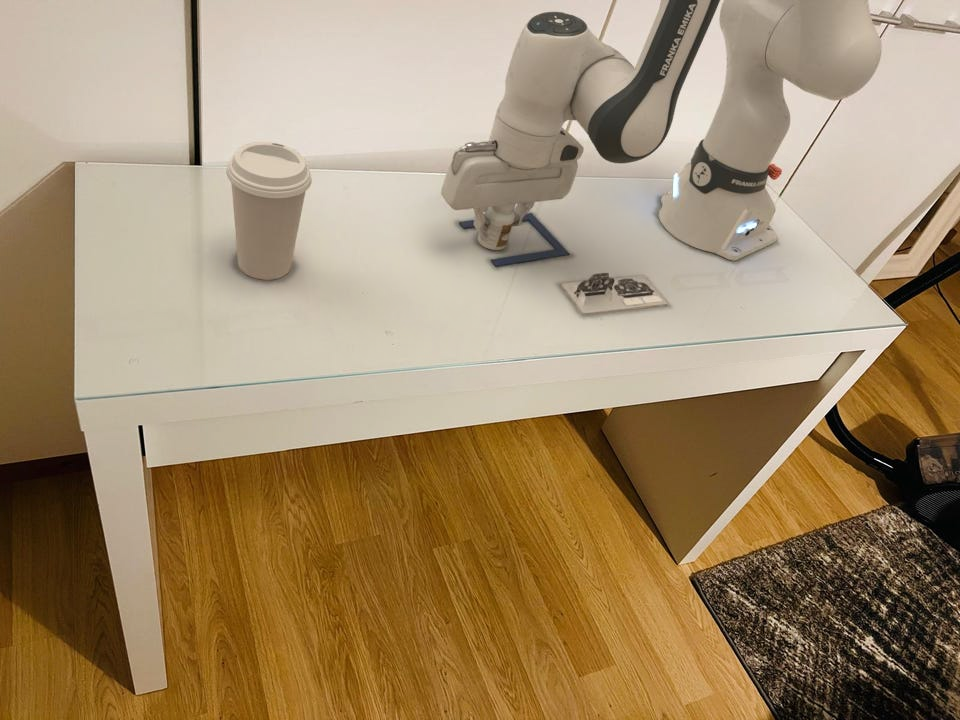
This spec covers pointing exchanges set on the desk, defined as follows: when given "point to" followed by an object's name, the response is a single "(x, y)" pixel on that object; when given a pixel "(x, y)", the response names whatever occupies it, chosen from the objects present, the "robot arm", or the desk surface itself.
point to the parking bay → (529, 257)
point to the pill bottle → (497, 227)
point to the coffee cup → (267, 206)
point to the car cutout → (612, 294)
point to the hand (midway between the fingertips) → (496, 226)
